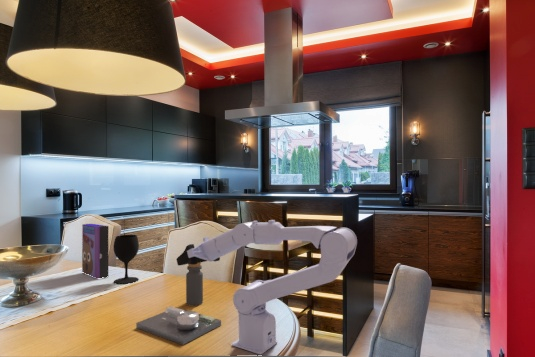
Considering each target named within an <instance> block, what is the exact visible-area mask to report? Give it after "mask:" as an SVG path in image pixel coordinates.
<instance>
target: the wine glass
mask: <svg viewBox="0 0 535 357" xmlns="http://www.w3.org/2000/svg"><path fill="white" fill-rule="evenodd" d="M138 238H139V237H138V235H137V234H121V235H116V236H115V237H114V241H113V252H114V253H113V254H114V256H115V257H116V258H117V259H118V260H119V261H121V262H122V263H123V264H124V277H120V278H117V279H115V280H113V284H115V283H116V284H115V285H129V284H128V283H130V284H133V282H134V283H137V282H139V277H136V276H129V272H128V271H129V270H128V268H129V263H130V262H131V261H132V260H134V258H136V256H137V254H138V252H139V248H140V246H139V245H140V243H139V239H138ZM136 281H137V282H136Z"/></svg>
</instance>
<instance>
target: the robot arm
mask: <svg viewBox="0 0 535 357" xmlns="http://www.w3.org/2000/svg"><path fill="white" fill-rule="evenodd" d="M357 238H358V237H357V235H356V234H355V232H354V231H353V230H352V229H350V228H348V227H339V228H338V227H337V226H333V225H332V226H331V225H312V226H311V225H307V226H306V225H305V226H286V227H285V226H284V225H283V224H281V222H279V221H276V220H275V219H270V220H268V222H267V221H265V222H259V221H258V220H253V221H248V222H243V223H238V224H236V225H235V226H234V227H233V228H231V229H228V230H226V231H224V232H222V233H220V234H217V235H216V236H215V237H212V238H210V237H209V236H205V237H203V238H202V242H201V243H200V244H198V245H197V246H195V243H194V244H187V246H185V249H184V250H183V252H182V253H181V254H180V255H179V256H177V258H176V263H177V266H185V265H188V264H192V265H194V264H197V263H200V262H201V263H205V262H219V261H220V259H221V257H223V256H226V255H228V254H230V253H232V252H234V251H237V250H239V249H240V248H241V247H246V246H249V245H251V244H255V245H269V246H271V245H272V246H273V245H274V246H277V245H281V244H282V242H284V241H298V242H311V244H313V246H314V247H315V248H316V249H320V258H319V263H317V264H315V265H311V266H309V267H306V268H303V269H300V270H297V271H294V272H292V273H287V274H284V275H283V276H278V277H276V278H273V279H267V280H261V279H257V280H254V281H252V282H251V283H250V284H248V285H246V286H244V287H241V288H238V289H237V290H236V291H235V292H234V294H233V297H232V298H233V299H232V301H233V305H234V307H235V310H237V313H238V339H236V340H235V341H233V342H232V343H231V346H233V347H236V348H239V349H243V350H246V351H248V352H250V353H254V354H257V355H263V354H264V353H265V352H267V351H268V350H270V349H271V348H272V347H274V346H275V345H276V344H277V343H278V340H277V339H276V338H277V330H276V327H277V325H276V321H277V320H276V318H275V315H274V314H273V313H270V312H269V311H268V310H267V308H266V307H267V306H266V305H267V303H268V302H270V301H273V300H276V299H279V298H283V297H286V296H291V295H293V294H295V293H299V292H302V291H306V290H308V289H313V288H316V287H319V286H322V285H325V284H328V283H331V282H334V281H335V280H336V279H338V278H339V276H340V275H341V274H342V272H343V271H344V270H345V268H346V266H347V264H348V263H349V261H350V260H351V259H352V258H353V257H354V255H355V252H356V249H357V245H358V239H357Z"/></svg>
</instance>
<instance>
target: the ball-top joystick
mask: <svg viewBox="0 0 535 357" xmlns="http://www.w3.org/2000/svg"><path fill="white" fill-rule="evenodd" d="M178 308H179V307H174V306H168V307H166V308H165V309H164V312H165V314H166V317H169V318H172V319H175V320H177V327H178V328H179V329H181V330H190V329H194V328H196V327H198V325H199V314H200V313H199V312H198V311H195V310H194V311H193V310H187V311H186V312H184V310H185V309H183V308H180V309H178ZM182 309H183V310H182Z"/></svg>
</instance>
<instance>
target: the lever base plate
mask: <svg viewBox="0 0 535 357" xmlns="http://www.w3.org/2000/svg"><path fill="white" fill-rule="evenodd" d="M177 308H178V309H182V310H184V312H186V311H188V310H186V309H183V308H179V307H177ZM135 324H136V325H135V327H136V329H138V330H141V331H143V332H145V333H146V332H147V333H149V334H152V335H154V336H156V337H160V338H162V339H165V340H168V341H170V342H173V343H176V344H179V345H182V346H184V345H186V344H189V343H191V342H192V341H194V340H196V339H197V338H200V337H201V336H203V335H205V334H208V333H209V332H210V331H213V330H214V329H216V328H219V327H221V326H222V320H221V319H218V318H216V317H213V316H210V315H206V314H201V313H199V325H198V327H196V328H194V329H190V330H181V329H179V328H178V327H177V320H175V319H172V318H169V317H166V314H165V311H163V312H160V313H159V314H155V315H153V316H151V317H148V318H146V319H143V320H140V321H138V322H136V323H135Z"/></svg>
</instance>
